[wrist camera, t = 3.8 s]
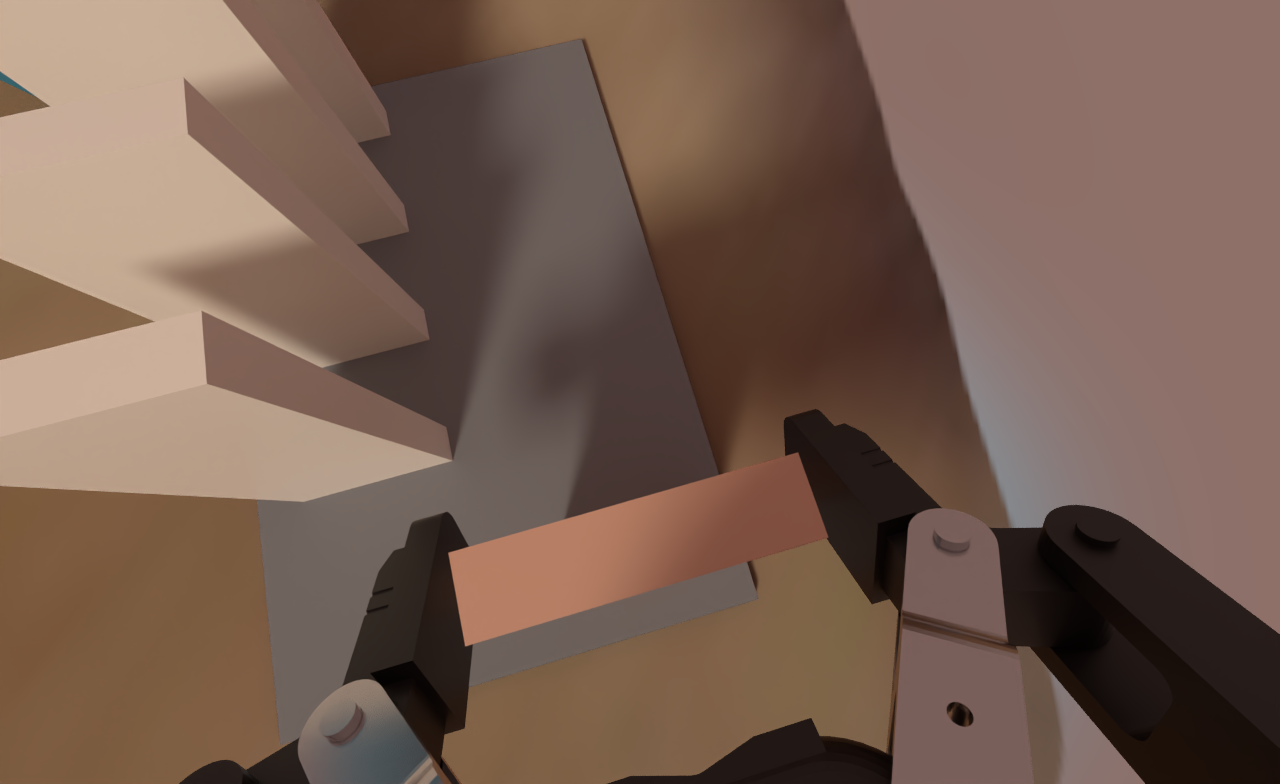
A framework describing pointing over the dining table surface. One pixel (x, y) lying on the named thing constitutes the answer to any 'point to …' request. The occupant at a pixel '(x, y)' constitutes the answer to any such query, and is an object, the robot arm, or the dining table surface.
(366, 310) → the domino
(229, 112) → the domino
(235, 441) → the domino
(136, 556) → the dining table surface
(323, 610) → the mat
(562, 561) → the terracotta tile
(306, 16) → the domino
